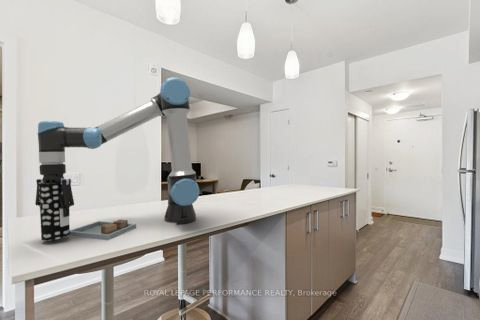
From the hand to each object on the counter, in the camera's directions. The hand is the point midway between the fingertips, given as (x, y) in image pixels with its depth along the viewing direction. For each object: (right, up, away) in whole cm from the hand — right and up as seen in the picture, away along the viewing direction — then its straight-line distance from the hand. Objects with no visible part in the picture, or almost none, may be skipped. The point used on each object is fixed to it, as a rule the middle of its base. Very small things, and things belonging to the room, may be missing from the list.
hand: (55, 224), depth 87 cm
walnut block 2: (+18, -6, +11) cm, 22 cm away
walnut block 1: (+17, -6, +6) cm, 19 cm away
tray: (+12, -6, +10) cm, 17 cm away
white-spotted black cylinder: (0, -5, 0) cm, 5 cm away
